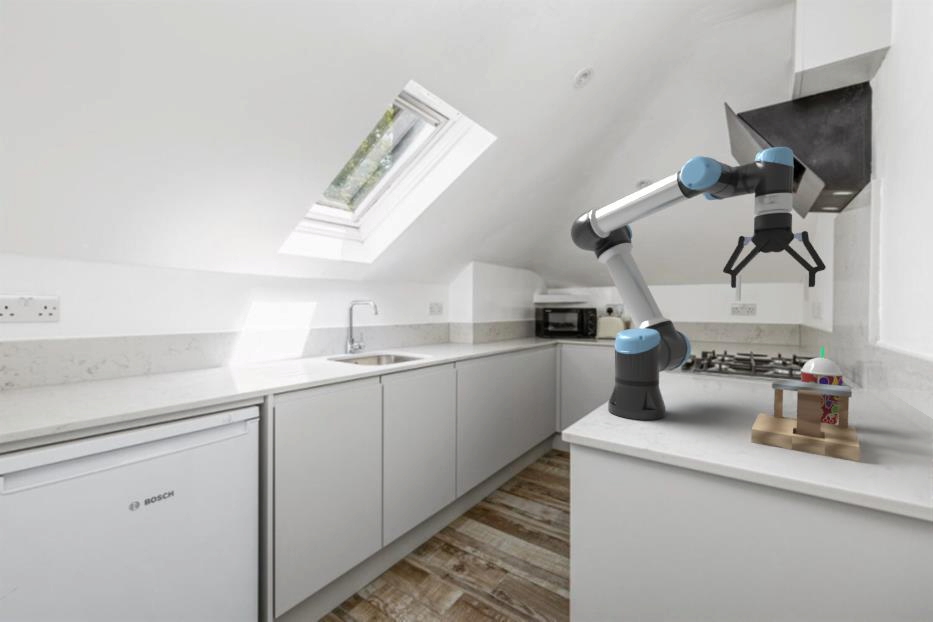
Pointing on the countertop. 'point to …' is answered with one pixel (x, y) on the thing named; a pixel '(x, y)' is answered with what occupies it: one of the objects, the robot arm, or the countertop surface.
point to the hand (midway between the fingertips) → (770, 301)
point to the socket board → (831, 442)
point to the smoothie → (827, 374)
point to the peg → (808, 413)
